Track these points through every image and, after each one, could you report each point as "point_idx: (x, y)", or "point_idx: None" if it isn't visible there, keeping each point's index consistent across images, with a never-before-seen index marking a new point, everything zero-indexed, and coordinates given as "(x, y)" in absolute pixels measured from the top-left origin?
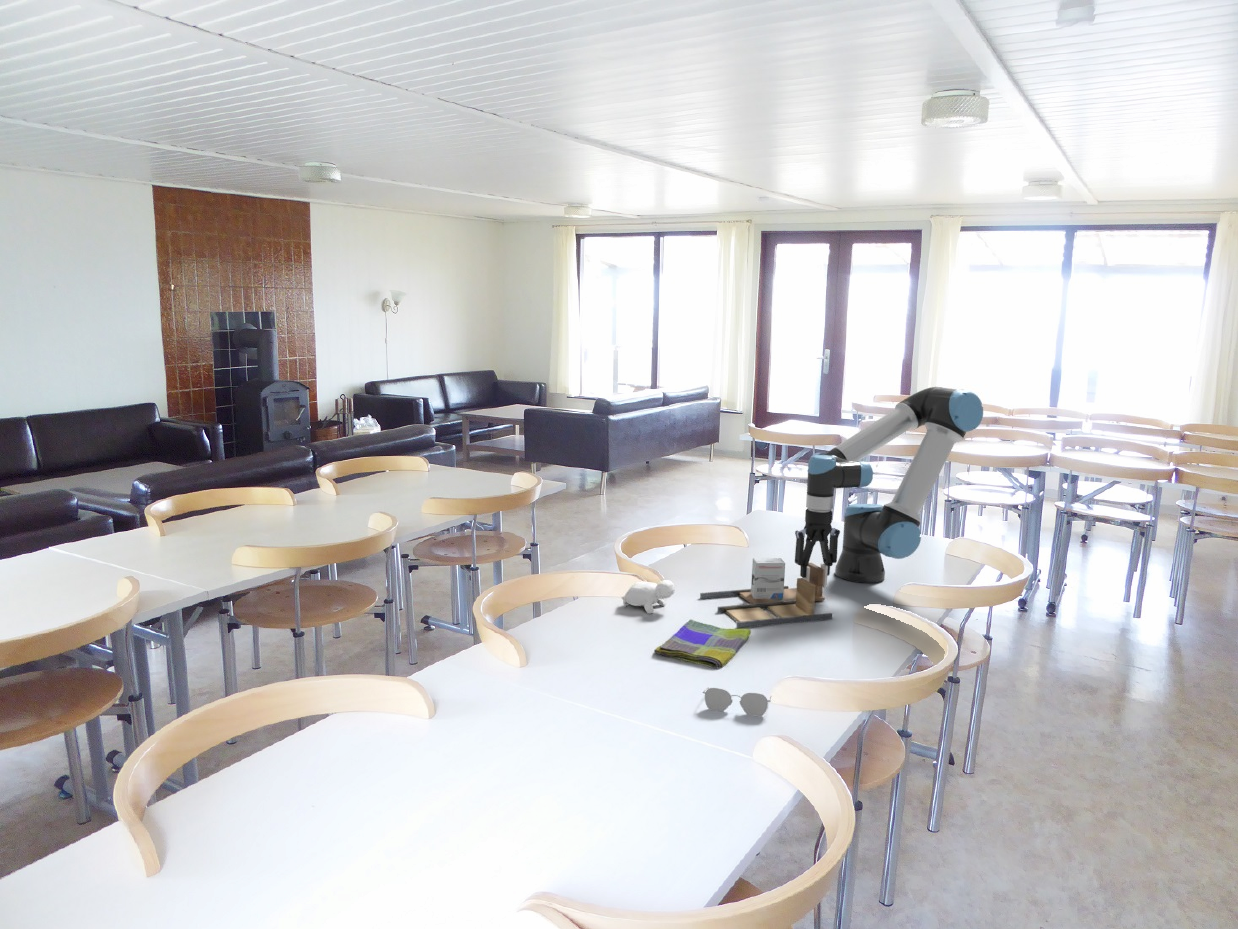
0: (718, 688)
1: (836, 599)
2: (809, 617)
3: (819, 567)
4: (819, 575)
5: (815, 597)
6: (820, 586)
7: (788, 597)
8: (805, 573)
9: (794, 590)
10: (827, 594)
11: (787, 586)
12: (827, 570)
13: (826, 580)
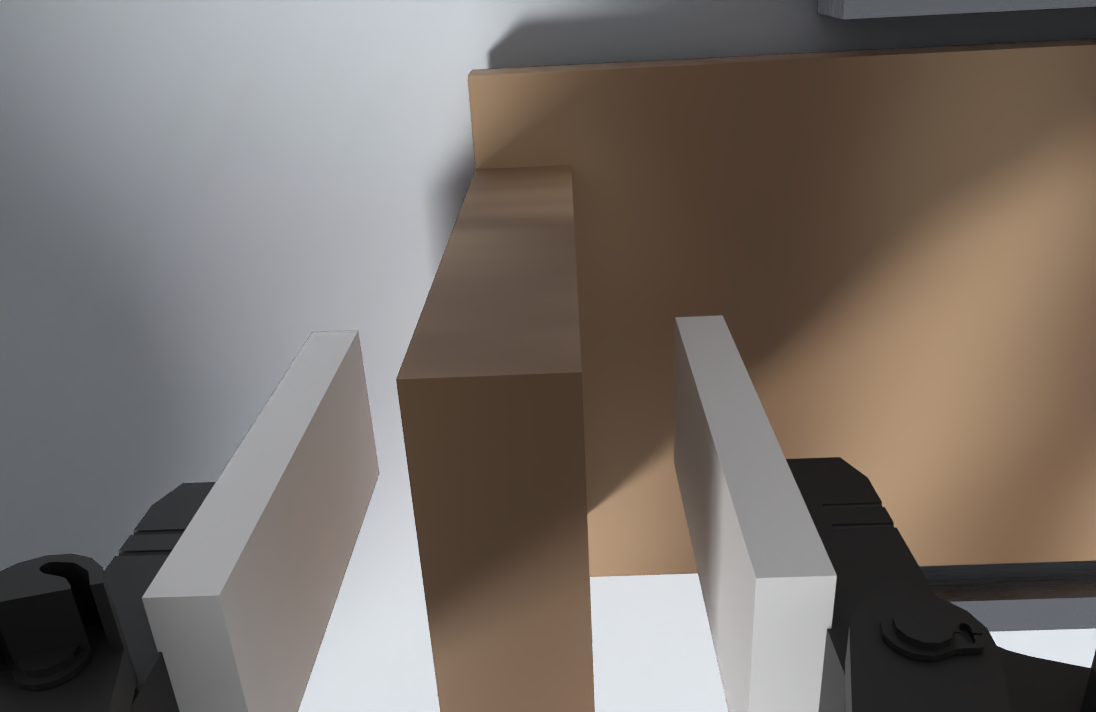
0: None
1: (228, 124)
2: None
3: (444, 559)
4: (544, 300)
5: (627, 118)
6: (508, 213)
7: (1080, 213)
8: (811, 513)
9: None
10: (281, 361)
11: None
12: (197, 518)
13: (284, 393)
